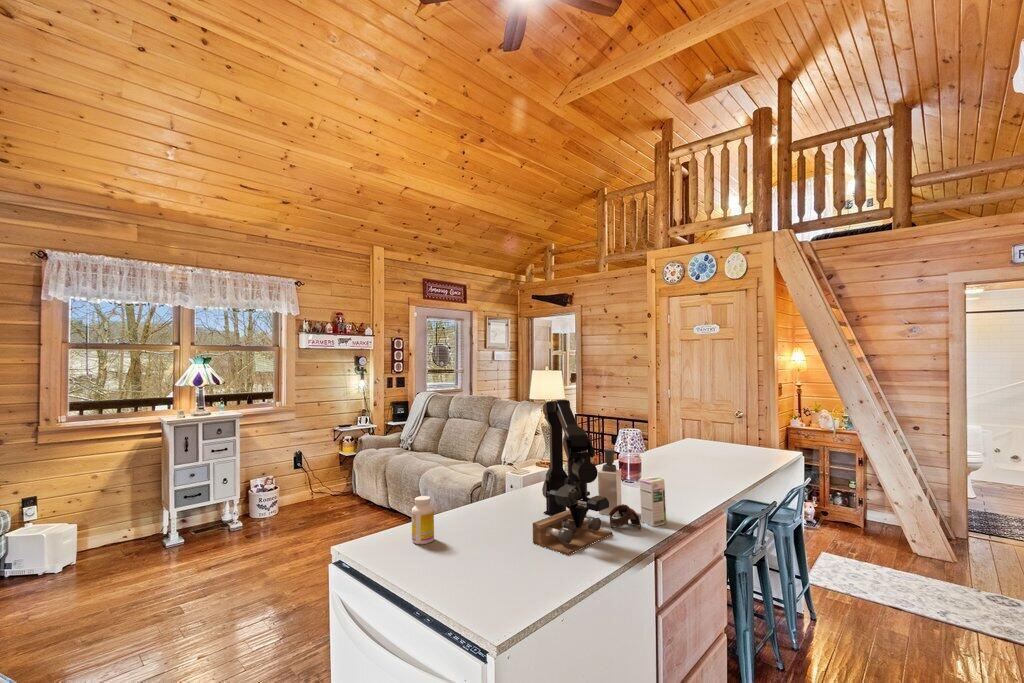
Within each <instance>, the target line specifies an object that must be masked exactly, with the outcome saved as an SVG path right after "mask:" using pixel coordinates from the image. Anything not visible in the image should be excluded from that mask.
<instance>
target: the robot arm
mask: <svg viewBox="0 0 1024 683" xmlns="http://www.w3.org/2000/svg"><path fill="white" fill-rule="evenodd" d="M542 412H543V415H544V420H545V421H546V422H547V424H548V426H549V428H548V429H549V468H548V470H547V471H546V474H545V480H543V481H544V482H543V484H542V487H541V488H542V495H543V497H544V498H545V499H546V501H545V502H546V504H545V505H546V510H545V511H543V514H544V513H545V514H544V515H547V514H548V516H551V515H552V516H553V515H556V514H559V513H561V512H564V511H567V510H570V512H571V514H572V517H573V519H574V522H575V525H576V528H581V526H582V523H583V521H584V518H585V516H586V517H587V514H588V513H589V510H590V511H593V512H599V511H601V510H604V509H606V508H609V500H608V499H607V498H606V497H601V496H599V495H595V496H592V497H590V495H591V492H590V491H589V490H588V484H591V483H593V482H594V481H595V480H596V479H598V472H599V471H598V468H597V466H596V465H595V464H594V463H592V462H591V460H592V459H591V458H594V457H595V456H594V455H595V454H594V453H595V449H594V447H593V443H592V441H591V439H590V438H591V437H590V436H589V435H588V434H587V432H586V430H585V428H582V427H581V426H579V425H578V423H577V420H576V418H575V415H574V413H573V410H572V408H571V403H570V400H569V399H555V400H551V401H550V400H547V401H546V402H545V403H543V405H542ZM563 434H564V435H563ZM564 452H565V455H566V458H567V460H566V461H567V464H566V465H567V472H566V470H565V469H564Z"/></svg>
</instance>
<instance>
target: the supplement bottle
mask: <svg viewBox="0 0 1024 683" xmlns="http://www.w3.org/2000/svg"><path fill="white" fill-rule="evenodd" d="M430 503H431V497H430V496H429V495H420V496H417V497H415V498H414V504H415V505H414V506H413V507H412V509H411V540H412V542H413V544H417V545H426V544H430V543H432V542H433V541H434V539H435V521H434V520H435V519H434V518H435V517H434V515H435V514H434V511H435V510H434V507H433V506H432V504H430Z"/></svg>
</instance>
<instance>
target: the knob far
mask: <svg viewBox="0 0 1024 683" xmlns="http://www.w3.org/2000/svg"><path fill="white" fill-rule="evenodd" d="M583 524H586V525H588V528H589V529H592V530H595V531H598V530H599V529H601V526H602V520H601V518H599V517H596V516H593V515H590V517H586V518H584V521H583Z"/></svg>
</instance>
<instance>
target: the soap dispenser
mask: <svg viewBox="0 0 1024 683" xmlns="http://www.w3.org/2000/svg"><path fill="white" fill-rule="evenodd" d="M603 451H604V463H605V464H603V465H602V469H600V470H599V471H598V475H597V482H598V483H597V485H598V486H597V487H598V496H601V497H606V498H607V499H608V500H609V508H606V509H604V510H601V511H598V514H599V515H602V514H606V515H605V516H610V515H609V513H610V511H611V510H612V509H613V508H615V507H616V506H618V505H622V478H621V477H622V476H621V475H622V473H621V469H617V465H616V464H614V462H615V460H614V458H615V457H614V456H615V455H616V453H615V452H616V451H615V449H611V448H604V449H603ZM618 516H620V515H619V513H618V511H617V512H616V513H615V514H614V516H613V517H618Z"/></svg>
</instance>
